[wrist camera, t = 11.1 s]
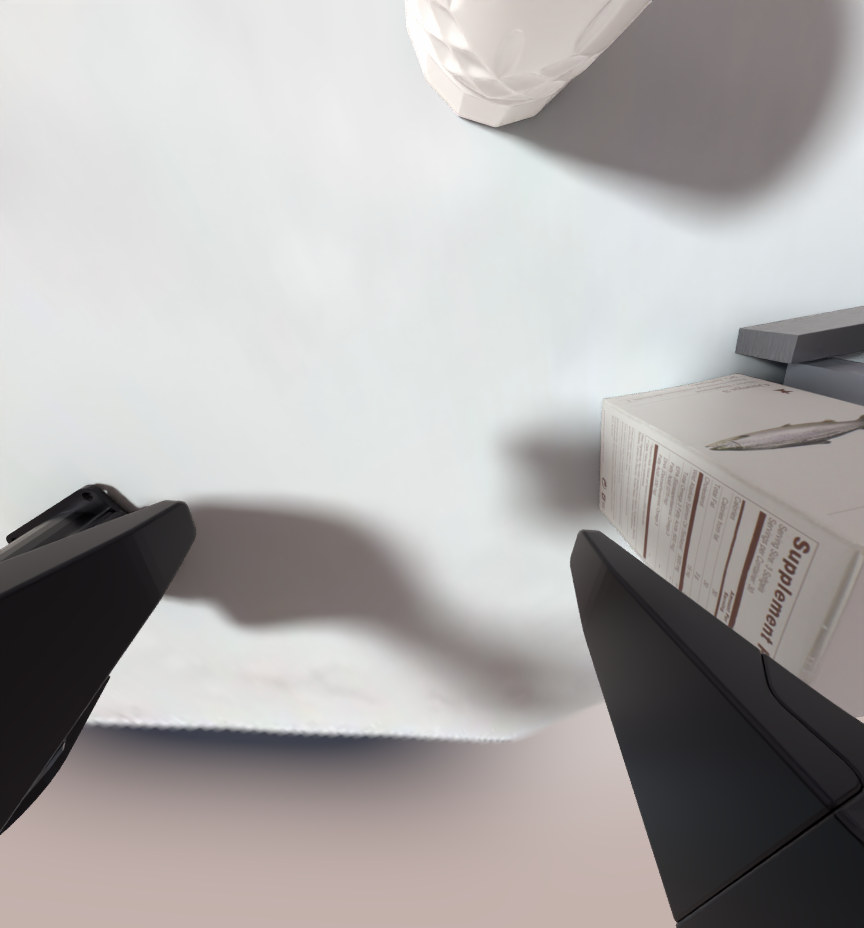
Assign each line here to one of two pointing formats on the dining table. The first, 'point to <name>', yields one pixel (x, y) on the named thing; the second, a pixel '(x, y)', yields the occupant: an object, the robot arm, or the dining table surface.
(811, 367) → the pad
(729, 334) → the dining table surface
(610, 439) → the supplement box
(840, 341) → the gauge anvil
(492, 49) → the white cup
